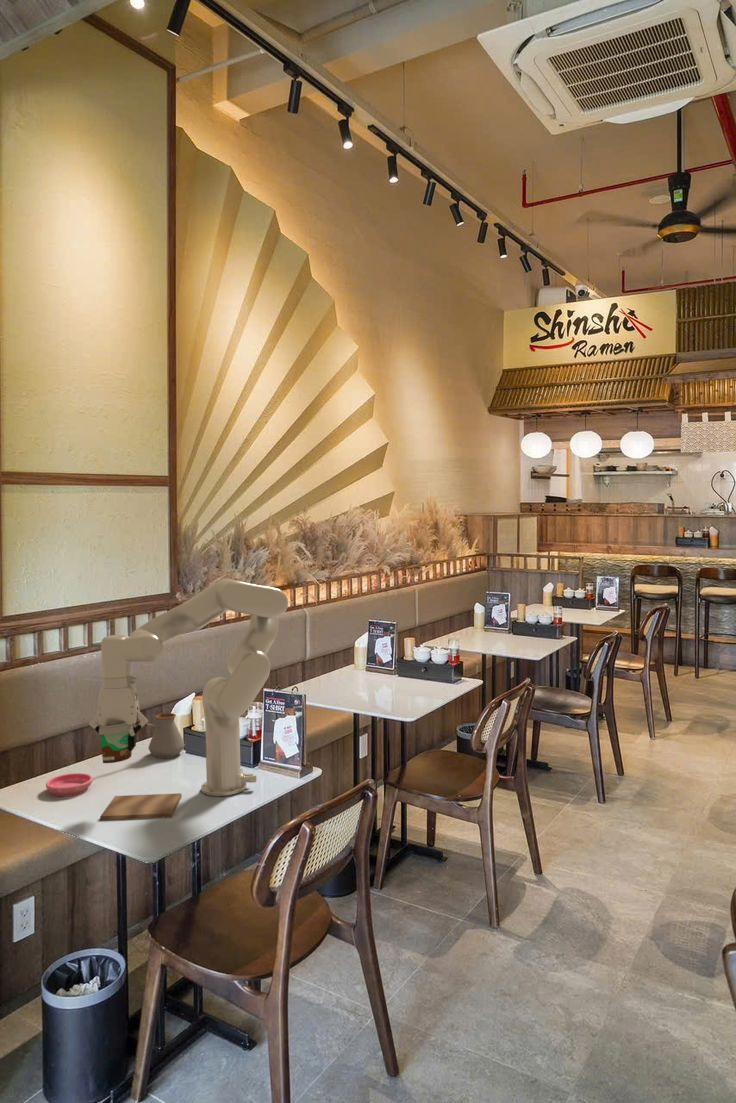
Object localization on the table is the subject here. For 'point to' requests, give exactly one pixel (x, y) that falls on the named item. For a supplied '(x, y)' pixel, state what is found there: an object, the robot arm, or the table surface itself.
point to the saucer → (69, 784)
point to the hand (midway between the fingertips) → (119, 749)
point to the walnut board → (141, 806)
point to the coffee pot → (165, 737)
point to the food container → (115, 742)
